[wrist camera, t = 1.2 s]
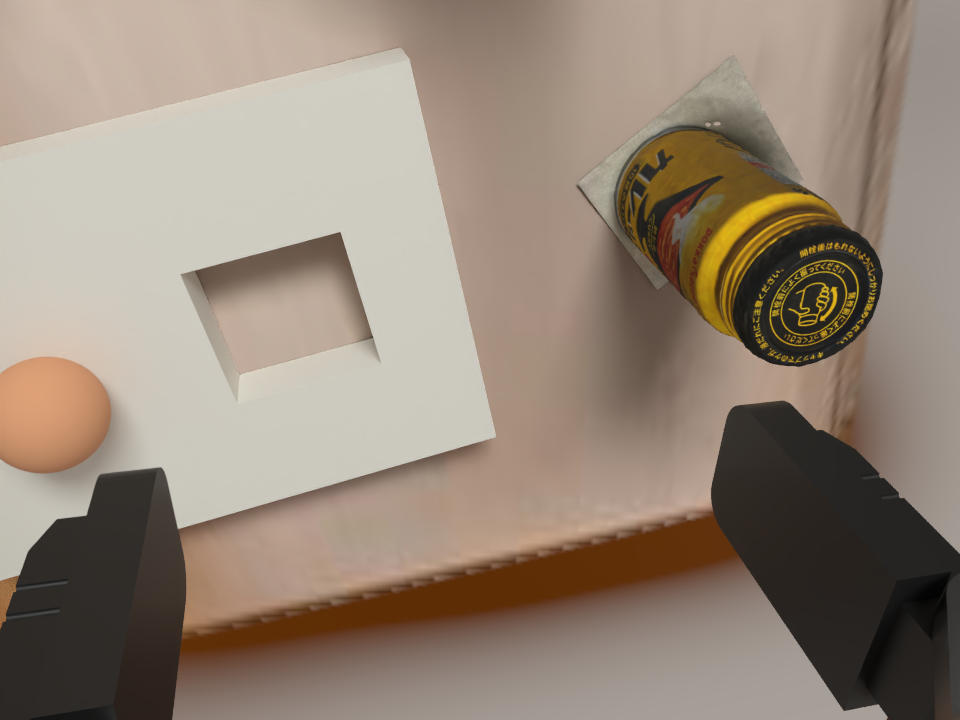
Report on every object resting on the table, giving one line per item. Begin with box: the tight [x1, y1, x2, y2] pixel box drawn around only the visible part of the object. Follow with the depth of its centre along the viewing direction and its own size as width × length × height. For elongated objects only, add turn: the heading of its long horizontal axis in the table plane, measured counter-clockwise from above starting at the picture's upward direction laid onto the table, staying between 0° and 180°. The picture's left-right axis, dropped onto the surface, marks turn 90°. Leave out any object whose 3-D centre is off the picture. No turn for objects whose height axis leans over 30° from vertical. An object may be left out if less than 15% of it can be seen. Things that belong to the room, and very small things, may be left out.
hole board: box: [0, 47, 496, 581], centre depth 35 cm, size 24×18×2 cm
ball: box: [0, 357, 111, 473], centre depth 31 cm, size 4×4×4 cm
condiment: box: [578, 55, 883, 367], centre depth 33 cm, size 7×8×12 cm
